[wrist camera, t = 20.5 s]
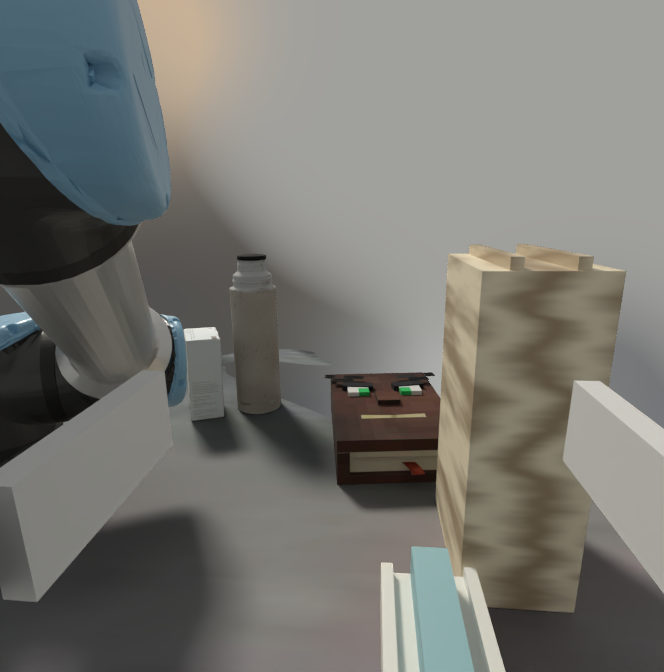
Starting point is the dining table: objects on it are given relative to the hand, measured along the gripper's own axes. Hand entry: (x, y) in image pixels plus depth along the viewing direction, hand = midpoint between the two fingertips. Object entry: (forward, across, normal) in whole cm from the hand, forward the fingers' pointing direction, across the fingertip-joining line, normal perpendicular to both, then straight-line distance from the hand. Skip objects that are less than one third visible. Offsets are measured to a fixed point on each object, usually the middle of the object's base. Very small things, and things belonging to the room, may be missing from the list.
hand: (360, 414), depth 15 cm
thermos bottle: (+63, -20, -29) cm, 72 cm away
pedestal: (+28, +13, -28) cm, 42 cm away
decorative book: (+52, +3, -29) cm, 60 cm away
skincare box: (+60, -30, -29) cm, 73 cm away
